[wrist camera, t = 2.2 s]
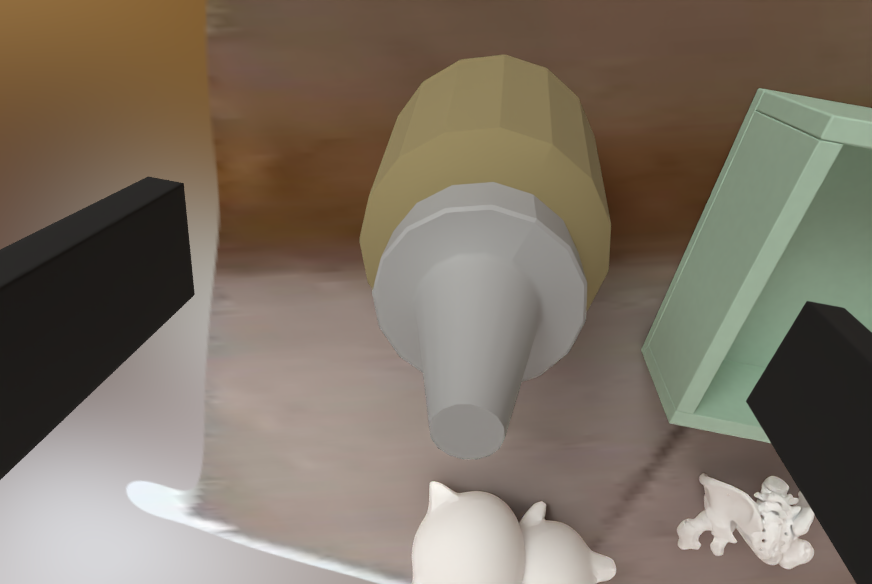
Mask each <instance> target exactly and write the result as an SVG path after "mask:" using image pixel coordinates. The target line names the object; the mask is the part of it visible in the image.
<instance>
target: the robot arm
mask: <svg viewBox="0 0 872 584" xmlns="http://www.w3.org/2000/svg"><path fill="white" fill-rule="evenodd" d="M193 296H194V285H193V275H192V264H191V254H190V245H189V234H188V224H187V214H186V203H185V194H184V184H183V183H179V182H174V181H169V180H163V179H158V178H152V177H146V178H145V179H142V180H140V181H138V182H136V183H134V184H132V185H130V186H128V187H126V188H124V189H122V190H120V191H118V192H116V193H114V194H112V195H110V196H108V197H106V198H104V199H102V200H100V201H98V202H96V203H94V204H92V205H90V206H88V207H86V208H84V209H82V210H80V211H78V212H76V213H74V214H72V215H69V216H68V217H65V218H64V219H61V220H59V221H57V222H55V223H54V224H51V225H49V226H47V227H45V228H43V229H41V230H39V231H37V232H35V233H33V234H31V235H29V236H27V237H25V238H23V239H21V240H19V241H17V242H15V243H13V244H11V245H9V246H7V247H5V248H3V249H1V250H0V480H1V478H3V477H4V476H5V475H6V474H7V473H8V472H9V471H10V470H11V469H12V468H13V467H14V466H15V465H16V464H17V463H18V462H19V461H20V460H21V459H22V458H24V457H25V456H26V455H27V454H28V453H29V452H30V451H31V450H32V449H33V448H34V447H35V446H36V445H37V444H38V443H39V442H40V441H42V440H43V439H44V438H45V437H46V436H47V435H48V434H49V433H50V432H51V431H52V430H53V429H54V428H55V427H56V426H57V425H58V424H59V423H60V422H61V421H63V420H64V418H66V417H67V416H68V415H69V414H70V413H71V412H72V411H73V410H74V409H75V408H76V407H77V406H78V405H79V404H80V403H81V402H82V401H83V400H84V399H86V398H87V397H88V396H89V395H90V394H91V393H92V392H93V391H94V390H95V389H96V388H97V387H98V386H99V385H100V384H101V383H102V382H103V381H104V380H106V379H107V378H108V377H109V376H110V375H111V374H112V373H113V372H114V371H115V370H116V369H117V368H118V367H119V366H120V365H121V364H122V363H123V362H124V361H126V360H127V359H128V358H129V357H130V356H131V355H132V354H133V353H134V352H135V351H136V350H137V349H138V348H139V347H140V346H141V345H142V344H143V343H144V342H145V341H146V340H148V338H150V337H151V336H152V335H153V334H154V333H155V332H156V331H157V330H158V329H159V328H160V327H161V326H162V325H163V324H164V323H165V322H166V321H168V320H169V318H171V317H172V316H173V315H174V314H175V313H176V312H177V311H178V310H179V309H180V308H181V307H182V306H183V305H184V304H185V303H186V302H187V301H188V300H190V299H191V297H193ZM746 403H747V404H748V406H749V407H750V409H751V411H752V412H753V414H754V416H755V417H756V419H757V421H758V422H759V424H760V426H761V427H762V429H763V430H764V432H765V434H766V435H767V437H768V439H769V440H770V442H771V444H772V445H773V447H774V448H775V450H776V452H777V453H778V455H779V457H780V458H781V460H782V462H783V463H784V465H785V467H786V468H787V470H788V471H789V473H790V475H791V476H792V478H793V480H794V481H795V483H796V485H797V486H798V488H799V490H800V491H801V493H802V494H803V496H804V498H805V499H806V501H807V503H808V504H809V506H810V508H811V509H812V511H813V513H814V514H815V516H816V517H817V519H818V521H819V522H820V524H821V526H822V527H823V529H824V531H825V532H826V534H827V536H828V537H829V539H830V540H831V542H832V544H833V545H834V547H835V549H836V550H837V552H838V554H839V555H840V557H841V559H842V560H843V562H844V563H845V565H846V567H847V568H848V570H849V572H850V573H851V575H852V577H853V578H854V580H855V582H856V583H857V584H872V332H871V331H870V330H868V329H867V328H866V327H865V326H864V325H863V324H862V323H861V322H860V321H858V320H857V319H856V318H855V317H854V316H853V315H852V314H851V313H849V312H848V311H847V310H846V309H845V308H843V307H837V306H832V305H827V304H821V303H816V302H811V301H806V303H805V305H804V306H803V308H802V310H801V311H800V313H799V315H798V316H797V318H796V319H795V321H794V323H793V324H792V326H791V328H790V329H789V331H788V333H787V334H786V336H785V338H784V339H783V341H782V342H781V344H780V346H779V347H778V349H777V351H776V352H775V354H774V356H773V357H772V359H771V361H770V362H769V364H768V365H767V367H766V369H765V370H764V372H763V374H762V375H761V377H760V379H759V380H758V382H757V383H756V385H755V387H754V388H753V390H752V392H751V393H750V395H749V397H748V398H747V400H746Z"/></svg>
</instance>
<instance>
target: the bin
mask: <svg viewBox="0 0 872 584" xmlns="http://www.w3.org/2000/svg"><path fill="white" fill-rule="evenodd" d="M806 301H811V302H816V303H821V304H827V305H832V306H837V307H843V308H845V309H846V310H847V311H848V312H849V313H851V314H852V315H853V316H854V317H855V318H856V319H857V320H858V321H860V322H861V323H862V324H863V325H864V326H865V327H866V328H867V329H868V330H870V331H871V332H872V108H867V107H862V106H856V105H851V104H845V103H840V102H834V101H829V100H823V99H818V98H812V97H806V96H801V95H795V94H790V93H784V92H779V91H773V90H768V89H762V88H759V89H758V90H757V92H756V95H755V97H754V99H753V101H752V103H751V106H750V108H749V110H748V112H747V115H746V117H745V119H744V121H743V124H742V126H741V128H740V130H739V132H738V135H737V137H736V139H735V141H734V144H733V146H732V148H731V150H730V153H729V155H728V157H727V159H726V162H725V164H724V166H723V168H722V170H721V173H720V175H719V177H718V179H717V182H716V184H715V186H714V188H713V191H712V193H711V195H710V197H709V199H708V202H707V204H706V206H705V208H704V211H703V213H702V215H701V217H700V220H699V222H698V224H697V226H696V228H695V231H694V233H693V235H692V237H691V240H690V242H689V244H688V246H687V249H686V251H685V253H684V255H683V258H682V260H681V262H680V264H679V266H678V269H677V271H676V273H675V275H674V278H673V280H672V282H671V284H670V287H669V289H668V291H667V293H666V295H665V298H664V300H663V302H662V304H661V307H660V309H659V311H658V313H657V316H656V318H655V320H654V322H653V325H652V327H651V329H650V331H649V333H648V336H647V338H646V340H645V342H644V345H643V347H642V349H641V351H642V354H643V356H644V359H645V362H646V364H647V367H648V370H649V372H650V375H651V377H652V380H653V383H654V385H655V388H656V390H657V393H658V396H659V398H660V401H661V403H662V406H663V409H664V411H665V414H666V416H667V419H668V421H669V423H670V424H675V425H680V426H685V427H690V428H696V429H701V430H706V431H711V432H716V433H721V434H726V435H731V436H736V437H742V438H747V439H752V440H757V441H762V442H767V443H771V442H770V440H769V439H768V437H767V435H766V434H765V432H764V430H763V429H762V427H761V426H760V424H759V422H758V421H757V419H756V417H755V416H754V414H753V412H752V411H751V409H750V407H749V406H748V404H747V403H746V400H747V398H748V397H749V395H750V393H751V392H752V390H753V388H754V387H755V385H756V383H757V382H758V380H759V379H760V377H761V375H762V374H763V372H764V370H765V369H766V367H767V365H768V364H769V362H770V361H771V359H772V357H773V356H774V354H775V352H776V351H777V349H778V347H779V346H780V344H781V342H782V341H783V339H784V338H785V336H786V334H787V333H788V331H789V329H790V328H791V326H792V324H793V323H794V321H795V319H796V318H797V316H798V315H799V313H800V311H801V310H802V308H803V306H804V305H805V303H806Z"/></svg>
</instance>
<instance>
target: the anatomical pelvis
mask: <svg viewBox="0 0 872 584" xmlns="http://www.w3.org/2000/svg"><path fill="white" fill-rule="evenodd" d="M699 482H700V483H701V484H702V485H704V490H705V496H704V508H705V510H704V511H702V512H700V513H699V514H698V515H697V517H696V518H695V519H689V518H687V519H685V520H683V521H682V522H681V523H680V524H679V526H678V527H677V534H678V535H679V540H678V543H677V544H678V547H679V548H681V549H683V550H687V549H696V550H697V549H699V548H700V547H701V544H700V542H699V540H698V539H699V536H700V535H701V534H702V532H704V531H706V530H709V531H712V532H711V534H712V535H713V536H714V539H713V541H712V543H711V544H710V548H711V551H712V552H713V553H714V555H716V556H721V555H723V554H724V547H725V546H726V544H727V543H728V542H731V543H737V540H736V539H735V538H734V536H733V534H732V533H733V531H734V530H735V529H736V528H737V530H738V532H739V533H740V534H741V536H742V537H743V538H744V540H745V541H746V543H747V544H748V545H749V546H750V548H751V549H752V550H753V551H754V553H755V554H756V556H757V557H758V558H760V559H761V560H762V561H763V562H765V563H767V564H770V565H777V564H778V563H779V565H780V566H781V567H783V568H786V569H792V568H794V567H795V566H798V565H800V564H804V563H807V562H809V561H810V560H811V559H812V557H813V556H814V549H813V547H812V546H811V544H810V543H809V542H808V541H806V540H802V539H798V538H797V537H799V536H800V535H804V534H806V533H807V532H808V530H809V528H810V525H811V523H812V522H813V519H814V515H815V514H814V513H813V511H812V509H811V508H810V506H809V504H808V503H807V501H806V499H805V498H804V496H803V494H802V493H801V491H799V493H798V496H799V499H798V498H793V496H792V495H791V494H788V495H787V494H786V493H787V492H788V490H789V486H788V485H787V484H786V482H785V481H784V480H782V479H780V478H778V477H776V476H769V477H768V478H766V479H765V481H764V482H763V483H762V489H761V492H760V493H759V492H756V493H755V494H754V497H756V498H757V501H756V502H755V501H753V500H752V498H751V497H750V496H749V495H748V494H747V493H745V492H744V491H742V490H740V489H738V488H736V487H734V486H732V485H729V484H726V483H723V482H720V481H718V480H716V479H714V478H711V477H707V474H705V473H702V474H701V475H700V477H699ZM796 503H797V504H796ZM793 504H796V505H794V506H789V505H793ZM761 515H762V516H763V517H761ZM762 530H764V531H762ZM763 539H764V542H762V540H763ZM761 548H762V549H761Z"/></svg>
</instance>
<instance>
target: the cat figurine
mask: <svg viewBox="0 0 872 584" xmlns="http://www.w3.org/2000/svg"><path fill="white" fill-rule="evenodd" d="M545 513H546V504H545V503H544V502H542V501H540V502H537V503H534V504H533V505H532V507H531V508H530V509H529V510H528V511H527V512H526V513H525V515H524V516H523V518H522V519H521V521H520V522H518V520H517V518H516V516H515V514H514V513H513V511H512V510H511V509H510V507H509V506H508V505H507V504H506V503H505V502H504V501H503V500H501V499H500V498H499V497H497V496H495V495H493V494H490V493H487V492H483V491H469V492H463V493H456V492H455V491H453V490H451V489H450V488H448V487H447V486H446V485H444V484H442V483H439V482H436V481H432V482H430V486H429V506H428V511H427V514H426V516H425V518H424V519H423V521H422V522H421V524H420V526H419V528H418V530H417V532H416V535H415V538H414V542H413V547H412V567H413V580H412V584H596V583H598V582H602V581H608V580H610V579H612V578H613V577H614V575H615V573H616V566H615V563H614V561H613V559H611V558H609V557H607V556H605V555H602V554H599V553H597V552H594V551H592V550H591V549H590V548H589V547H588V546H587V544H586V543H585V542H584V540H583V539H582V537H581V536H580V535H579V534H578V533H577V532H576V531H575V530H574V529H573V528H571V527H570V526H568V525H567V524H564V523H562V522H558V521H549V520H545V518H544V517H545Z"/></svg>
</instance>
